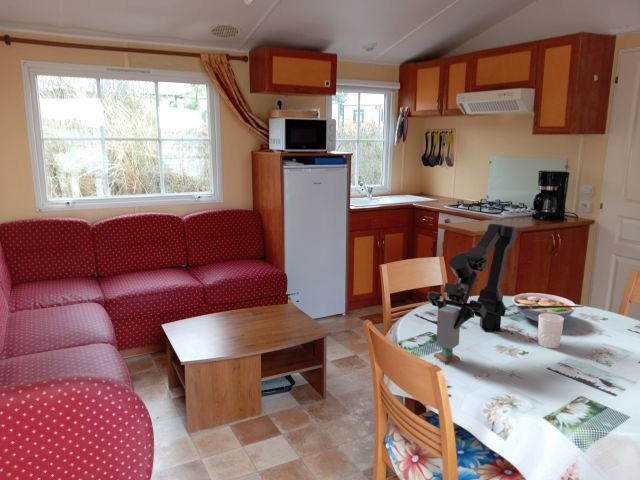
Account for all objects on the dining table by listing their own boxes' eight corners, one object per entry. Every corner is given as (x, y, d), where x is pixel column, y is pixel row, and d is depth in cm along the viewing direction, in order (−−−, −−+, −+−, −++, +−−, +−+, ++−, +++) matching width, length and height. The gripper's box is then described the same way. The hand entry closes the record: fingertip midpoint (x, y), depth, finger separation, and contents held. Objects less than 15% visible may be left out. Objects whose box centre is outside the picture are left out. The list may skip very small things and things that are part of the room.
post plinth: (449, 353, 168) (450, 338, 167) (460, 361, 162) (461, 345, 161) (433, 356, 166) (434, 340, 165) (444, 363, 160) (444, 347, 159)
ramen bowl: (558, 309, 209) (560, 290, 207) (589, 330, 186) (592, 309, 185) (499, 310, 208) (500, 291, 206) (522, 332, 185) (524, 310, 184)
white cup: (561, 342, 176) (563, 315, 174) (561, 350, 169) (564, 322, 167) (536, 338, 180) (539, 311, 177) (535, 346, 173) (538, 319, 170)
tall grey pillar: (444, 340, 167) (445, 305, 164) (458, 344, 163) (460, 309, 161) (436, 345, 163) (437, 309, 160) (451, 349, 159) (453, 313, 157)
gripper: (430, 267, 167) (412, 308, 161) (484, 278, 155) (466, 322, 149) (441, 285, 175) (424, 324, 169) (493, 296, 162) (476, 338, 157)
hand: (446, 326), depth 161 cm, fingers closed on tall grey pillar, 5 cm apart
